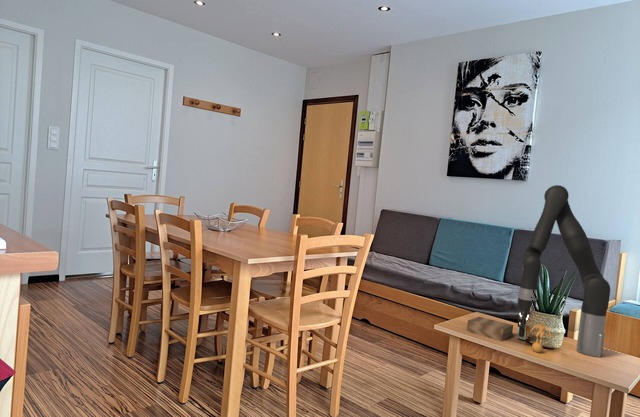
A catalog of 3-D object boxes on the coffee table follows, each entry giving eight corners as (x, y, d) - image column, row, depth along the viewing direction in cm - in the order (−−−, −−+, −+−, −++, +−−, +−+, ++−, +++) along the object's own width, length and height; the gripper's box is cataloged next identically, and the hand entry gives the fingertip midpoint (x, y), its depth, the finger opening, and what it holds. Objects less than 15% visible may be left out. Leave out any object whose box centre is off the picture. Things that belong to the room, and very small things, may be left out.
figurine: (524, 349, 188) (527, 321, 188) (530, 347, 192) (534, 319, 192) (545, 356, 182) (548, 326, 182) (551, 353, 186) (554, 325, 186)
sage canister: (530, 338, 204) (531, 323, 203) (527, 340, 200) (528, 325, 200) (518, 335, 207) (520, 320, 207) (515, 337, 203) (517, 322, 203)
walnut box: (512, 335, 208) (513, 325, 208) (501, 340, 198) (503, 329, 197) (478, 326, 219) (479, 316, 218) (466, 331, 208) (467, 320, 208)
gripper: (531, 301, 195) (527, 340, 195) (540, 298, 206) (536, 335, 206) (513, 298, 200) (509, 335, 200) (523, 295, 211) (519, 330, 211)
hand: (523, 335), depth 203 cm, fingers closed on sage canister, 5 cm apart
